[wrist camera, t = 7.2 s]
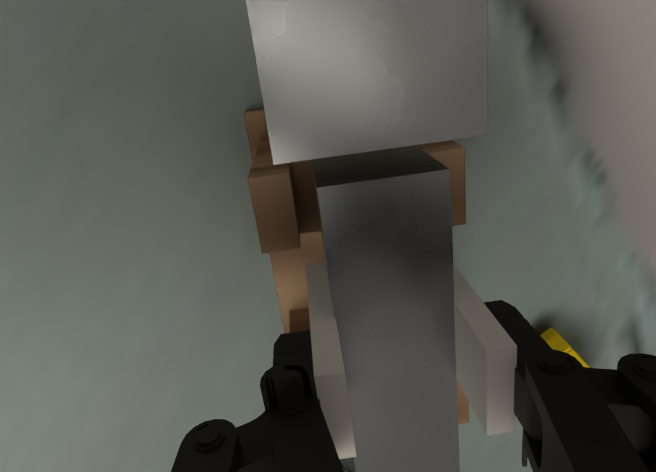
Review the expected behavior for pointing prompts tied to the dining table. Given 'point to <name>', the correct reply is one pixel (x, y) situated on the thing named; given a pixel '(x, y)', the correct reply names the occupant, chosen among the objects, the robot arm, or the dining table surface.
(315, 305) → the robot arm
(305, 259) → the cradle rack
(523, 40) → the dining table surface
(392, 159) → the grey t-shaped block
